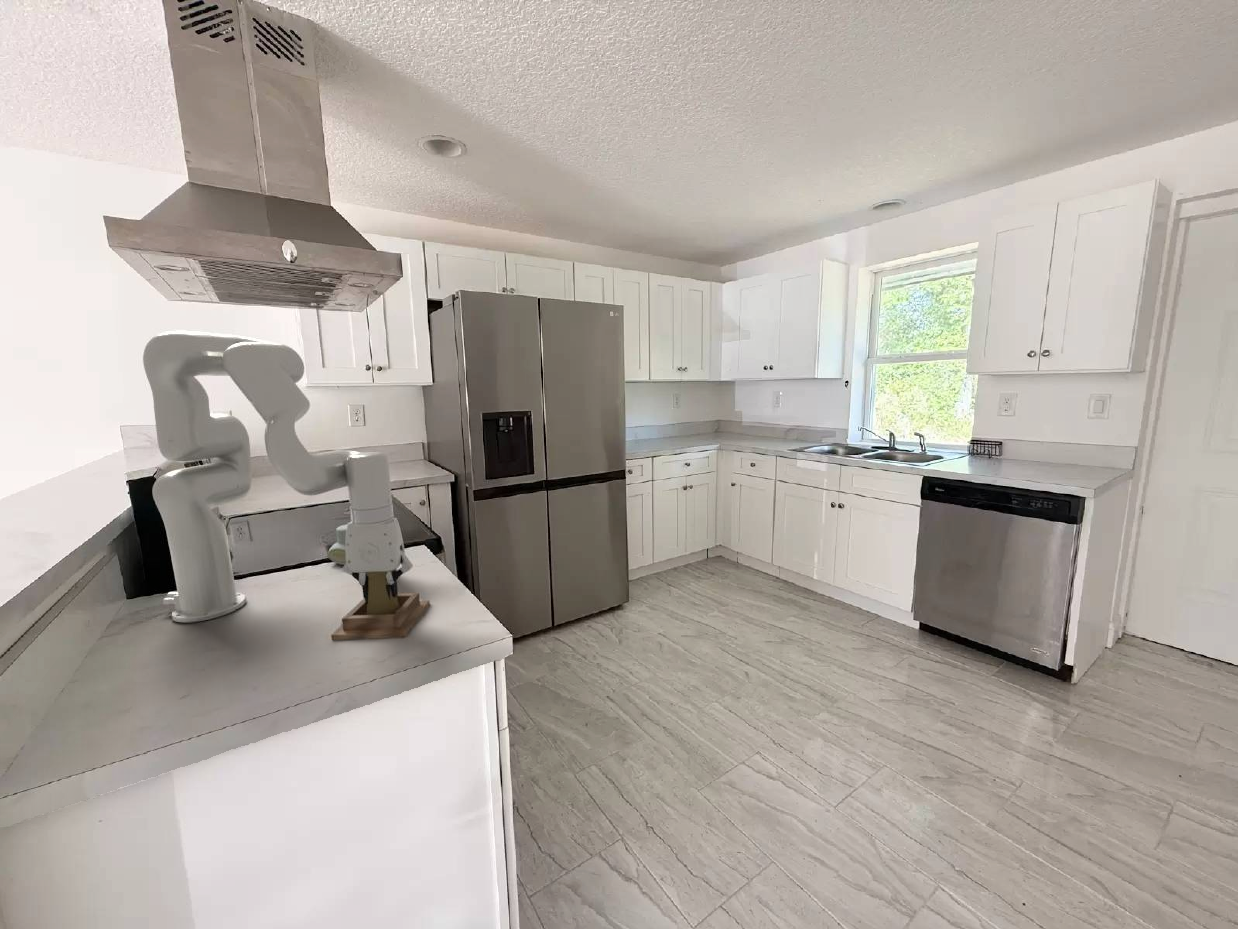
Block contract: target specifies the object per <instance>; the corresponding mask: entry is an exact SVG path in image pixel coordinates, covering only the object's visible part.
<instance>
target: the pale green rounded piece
mask: <svg viewBox="0 0 1238 929" xmlns="http://www.w3.org/2000/svg"><path fill="white" fill-rule="evenodd" d="M347 524H348V523H346V524H342V525H340V526H338V527H337V528H336V529H335V530H336V540H337V542H335V543H334V544H333V545H332V546H331V547H330V548H329V550H328V552H327V556H328V559H329V560H331V562H333V563H335V564H338V565H342V566H344V565H345V563H346V547H345V545H346V530H347Z"/></svg>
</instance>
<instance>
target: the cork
mask: <svg viewBox="0 0 1238 929" xmlns="http://www.w3.org/2000/svg"><path fill="white" fill-rule="evenodd" d="M366 575H367V576H368V577H369V579H368V604H367V615H386V614H392V613H394V612H396V611H397V610H398V609H399V604H398V600H397V597H393V596H392V592H391V588H390V600H389V597H388V593H387V590H386V585H388V582H387V578H386V575H387V572H368V573H366Z"/></svg>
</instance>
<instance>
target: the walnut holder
mask: <svg viewBox="0 0 1238 929" xmlns="http://www.w3.org/2000/svg"><path fill="white" fill-rule="evenodd" d="M397 600H398V604H399V609H398V610H397V611H396V612H394V613H392V614H386V615H367V604H366V603H365V598H364V597H363V598H362V599H361V600H360V601H359V602H358V603H357V604H356V605H355V606H353V608H352V609H351V610H350V611H349V612H347V613H346V614H345V616H343V617H342V618H341V622H342V623H341V625H340V626H339V627H338V628H336V630H335V631H334V632H333V633H332V634H331V635H330V637H331V640H332V641H333V640H334V641H335V640H337V641H339V640H360V639H361V640H363V639H364V640H367V639H388V638H392V639H395V638H406V637H407V636H408V635H409V633H410V632H411V630H412V629H413V627H415V625H416V624H417V622H418V621H419V620H420V619H421V617H422V616H423V615H424V613H425V612H426V611H427V609H428V608H429V607H428V606H431V602H430V600H420V593H419V592H417V593H416V592H410V593H409V592H407V593H404V592H403V593H398V595H397Z"/></svg>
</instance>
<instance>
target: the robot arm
mask: <svg viewBox="0 0 1238 929" xmlns="http://www.w3.org/2000/svg"><path fill="white" fill-rule="evenodd" d="M142 362H143V363H142V364H143V370H144V372H145V374H146V375H145V376H146V379H147V381H148V382H149V383H148V384H149V386H150V390H151V394H152V399H153V412H154V421H155V422H154V423H155V428H156V438H157V439H156V440H157V445H158V450H159V451H160V453H161V455H162V456H163V458H165V459H166V460H168V461H169V462H174V463H190V462H192V463H193V462H197V461H203V460H210V463H208V464H202V465H201V464H200V465H196V466H189V467H185V468H184V467H183V468H178V469H175V470H171V471H169V472H166V473H164V474H163V475H160V476H159V477H158V478H157V479H156V480H155V482H154V484H153V485H152V489H151V490H152V492H151V493H152V498H153V501H154V502H155V505H156V508H157V509H158V510H157V511H158V512H159V513H160V516H161V519H162V521H163V524H164V528H165V531H166V537H167V542H168V547H169V552H170V557H171V564H172V569H173V573H174V574H173V575H174V580H175V585H176V590H177V591H169V592H168V593H167V594H166V597H165V598H163V600H162V603H163V605H174V610H173V611H172V612H171V618H172V620H173V621H174V622H176V623H185V624H187V623H197V622H198V623H199V622H203V621H204V622H205V621H208V620H213V619H215V618H220V617H222V616H226V615H229V614H230V613H232V612H235V611H237V610H239V609H240V608H242V607H243V606H244V605H245V604H246V603H247V598H246V595H245V594H244V593H240V592H237V588H236V584H235V577H234V572H233V570H234V569H233V565H232V559H231V553H230V552H231V551H230V547H229V541H228V534H227V530H226V527H225V524H224V523H223V521H222V520H221V519H220V518H219V517H218V515H216V514H215V513H214V512H213V509H215V508H218V507H221V506H225V505H228V504H232V503H235V502H238V501H241V500H244V499H245V498H246V497H247V496H248V495H249V493H251V492H250V491H251V489H252V485H253V472H252V458H251V444H250V436H249V433H248V431H247V428H246V426H245V425H244V424H243V422H242V421H241V420H240V419H239V418H237V417H235V416H234V415H231V414H227V413H211V411H210V401H209V400H210V399H209V395H208V393H207V391H206V389H205V387H204V386H203V385H202V383H201V382H200V381H199V379H197V378H196V377H198V376H220V377H221V376H222V377H223V376H224V377H225V376H227V377H230V379H231V380H232V381H233V383H234V384H235V385H236V386H237V388H238V390H240V391H241V393H242V394H243V396H245V398H246V399H247V401H249V403H250V404H251V406H252V407H253V408H254V409H255V411H256V412H257V413H258V414H259V416H260V417H261V418H262V420H263V421H264V423H265V430H264V444H265V450H266V451H265V452H266V454H267V457H268V459H269V462H271V465H272V466H273V468H274V469H275V470H276V471H277V473H278V474H279V475H280V476H281V478H282V479H283V480H284V482H286V484H288V485H289V487H290V488H292V490H294V491H296V492H297V493H299V494H300V495H301V494H302V495H304V496H311V497H312V496H317V495H321V494H325V493H327V492H331V491H334V490H338V489H342V488H345V487H347V493H348V498H349V508H346V509H344V512H343V514H344V516H346V517H349V519H350V521H349V522H347V523H346V524H347V530H346V545H345V547H346V563H345V565H343V567H342V572H344V573H345V574H348V575H349V576H352V578H354V579H355V580H356V581H358V584H359V586H361V587H362V596H363V599H364V598H365V603H366V604H368V579H369V577H368V576H367V575H366V573H368V572H387V575H386V578H387V582H388V585H386V590H387V593H388V597H389V600H390V588H391V592H392V596H393V597H397V595H398V594H399V591H398V579H399V578H400V577H401V576H402V575H404V574H405V573H407V572H409V571H410V570H411V569H412V568H413V566H414V564H413V563H412V562H411V561H410V559H409V558H408V557H407V555H406V551H405V545H404V539H403V538H404V537H403V535H402V531H401V527H400V524H399V521H398V518H397V517H394V505H393V498H392V486H391V477H390V476H391V475H390V468H389V466H390V464H389V458H388V456H387V455H386V454H385V453H384V452H380V451H363V452H360V451H355V450H350V449H336V450H332V451H325V452H319V453H313V454H310V453H309V451H308V450H307V448H306V447H305V446H304V445H303V444H302V442H301V440H300V439H299V438H298V435H297V432H296V428H295V424H296V423H297V422H298V421H299V420H300V419H302V418H303V417H304V416H305V415H306V414H307V413H308V411H309V410H310V407H311V404H310V400H309V399H308V398H307V396H306V395H305V393H303V392H302V390H301V389H300V387H298V385H297V384H296V383H299V382H300V381H301V379H302V378H303V376H304V373H305V365H304V364H305V363H304V361H303V359H302V357H301V356H300V355H299V353H298V351H297V352H296V350H294V349H293V348H292V347H290V346H288V345H285V344H281V343H276V342H271V341H265V340H261V339H256V338H251V337H247V336H240V335H232V334H224V333H223V334H222V333H211V332H204V331H193V330H191V331H189V330H175V331H173V330H172V331H165V332H162V333H161V332H160V333H159V334H157V335H155V336H153V337H152V338H151V339H150V340H149V341H148V342H147V343H146V345H145V347H144V350H143V355H142ZM400 565H401V567H400ZM236 609H237V610H236Z"/></svg>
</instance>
